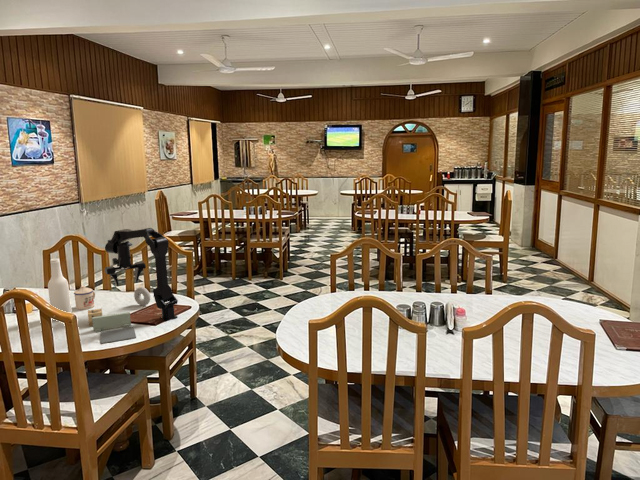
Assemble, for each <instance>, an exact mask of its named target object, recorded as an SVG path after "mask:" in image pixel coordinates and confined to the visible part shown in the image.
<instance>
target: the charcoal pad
mask: <svg viewBox="0 0 640 480" xmlns="http://www.w3.org/2000/svg"><path fill="white" fill-rule="evenodd" d="M133 339H137V335H136V330H135V326H129V327H125V328H124V327H121V328H117V329H116V328H115V329H111V330H110V329H109V330H102V331H101V332H100V344H101V345H104V344H109V343H115V342H121V341H127V340H133Z"/></svg>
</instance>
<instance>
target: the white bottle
mask: <svg viewBox="0 0 640 480" xmlns="http://www.w3.org/2000/svg"><path fill="white" fill-rule="evenodd" d="M49 261H50V269H51V270H50V274H51V277H50V279H49V281H48V282H47V289H48V297H49V304H51V305H52V306H54V307H56V308H58V309H60V310H63V311H66V312H71V313H72V314H73V311H72V304H71V296H70V295H71V294H70V288H69V287H70V286H69V282H68V279H66V278H65V277H64V275H63V272H62V268H61V264H60V262H61V261H60V258H57V257H55V258H51V259H50V260H49Z"/></svg>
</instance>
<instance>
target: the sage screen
mask: <svg viewBox="0 0 640 480" xmlns="http://www.w3.org/2000/svg"><path fill="white" fill-rule="evenodd" d="M92 321H93V326H92V327H93V332H96V333H101V332H102V331H105V330H108V329H109V330H110V329H116V328H128V327H130V326H132V321H131V312H130V311H125V312H119V313H113V314H106V315H102V316H98V317H92Z"/></svg>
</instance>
